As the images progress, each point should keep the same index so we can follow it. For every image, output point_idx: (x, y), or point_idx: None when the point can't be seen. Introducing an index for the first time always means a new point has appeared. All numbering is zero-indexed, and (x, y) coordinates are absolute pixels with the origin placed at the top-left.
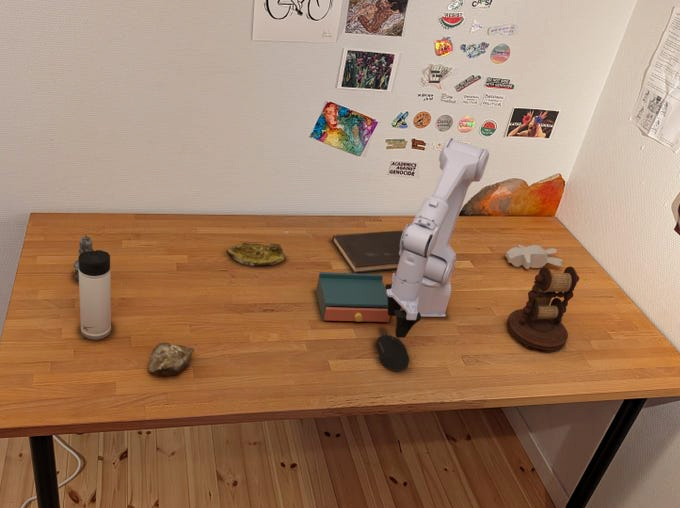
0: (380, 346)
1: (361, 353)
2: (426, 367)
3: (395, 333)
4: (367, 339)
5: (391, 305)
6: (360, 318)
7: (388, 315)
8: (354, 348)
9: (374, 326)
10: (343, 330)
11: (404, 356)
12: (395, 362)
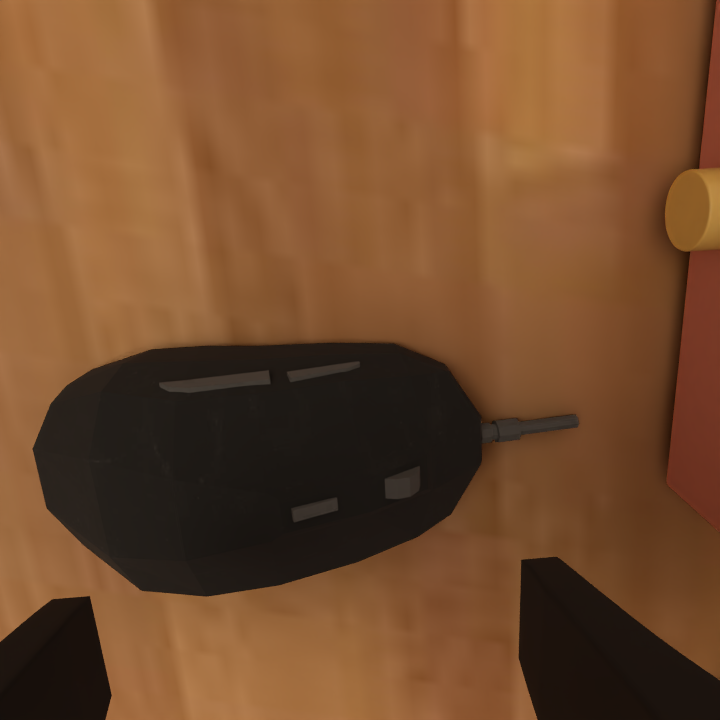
0: (265, 372)
1: (267, 194)
2: (171, 664)
3: (68, 612)
4: (462, 277)
5: (603, 708)
6: (686, 228)
7: (708, 506)
8: (330, 135)
9: (632, 362)
10: (586, 59)
11: (120, 565)
12: (66, 474)
